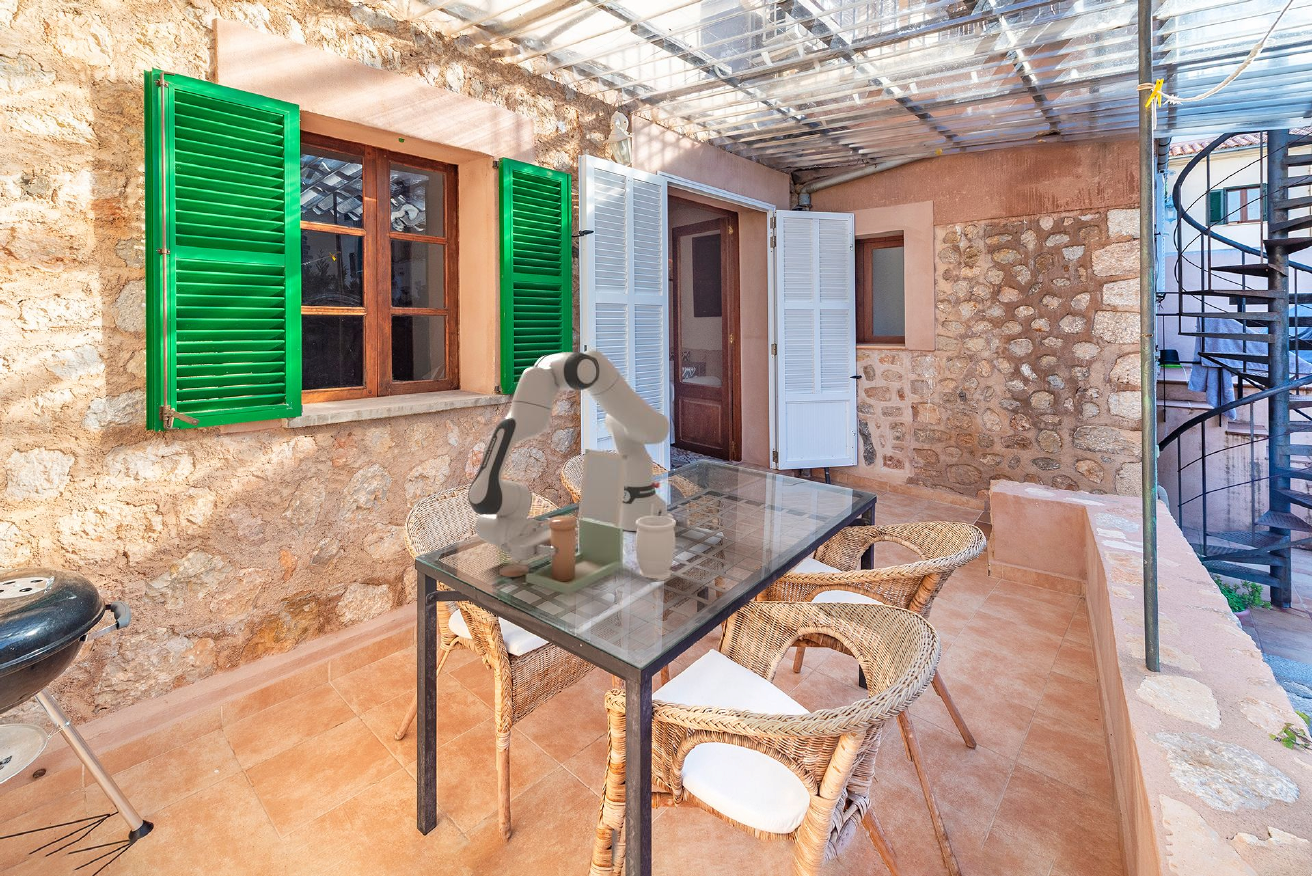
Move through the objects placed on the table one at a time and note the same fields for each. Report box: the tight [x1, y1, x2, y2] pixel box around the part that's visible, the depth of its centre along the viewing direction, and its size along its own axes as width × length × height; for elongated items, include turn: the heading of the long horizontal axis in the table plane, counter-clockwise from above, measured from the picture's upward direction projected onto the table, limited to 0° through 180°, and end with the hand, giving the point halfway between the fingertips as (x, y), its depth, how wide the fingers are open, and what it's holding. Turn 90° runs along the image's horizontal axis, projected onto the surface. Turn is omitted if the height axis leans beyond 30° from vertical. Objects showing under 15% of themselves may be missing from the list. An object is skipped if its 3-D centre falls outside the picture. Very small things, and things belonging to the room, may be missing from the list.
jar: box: [635, 516, 677, 582], centre depth 167 cm, size 11×10×15 cm
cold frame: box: [525, 518, 624, 596], centre depth 165 cm, size 22×14×12 cm, turn 147°
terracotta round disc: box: [499, 564, 530, 578], centre depth 167 cm, size 8×8×1 cm
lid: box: [577, 448, 628, 527], centre depth 171 cm, size 19×14×1 cm
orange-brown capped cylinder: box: [549, 515, 578, 581], centre depth 162 cm, size 7×7×15 cm
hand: (565, 546), depth 161 cm, fingers closed on orange-brown capped cylinder, 6 cm apart
